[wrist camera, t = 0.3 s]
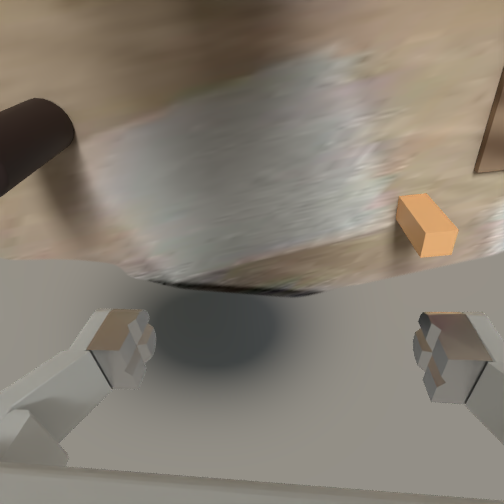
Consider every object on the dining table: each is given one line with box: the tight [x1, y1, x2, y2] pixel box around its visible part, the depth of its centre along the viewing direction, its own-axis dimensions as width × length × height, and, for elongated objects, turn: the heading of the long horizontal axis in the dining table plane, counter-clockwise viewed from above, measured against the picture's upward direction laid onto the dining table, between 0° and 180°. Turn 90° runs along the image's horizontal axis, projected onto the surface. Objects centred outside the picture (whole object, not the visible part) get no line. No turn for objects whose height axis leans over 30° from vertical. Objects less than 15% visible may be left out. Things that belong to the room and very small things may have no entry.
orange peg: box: [396, 193, 459, 258], centre depth 47 cm, size 4×4×10 cm
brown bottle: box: [0, 98, 73, 197], centre depth 36 cm, size 7×7×20 cm
